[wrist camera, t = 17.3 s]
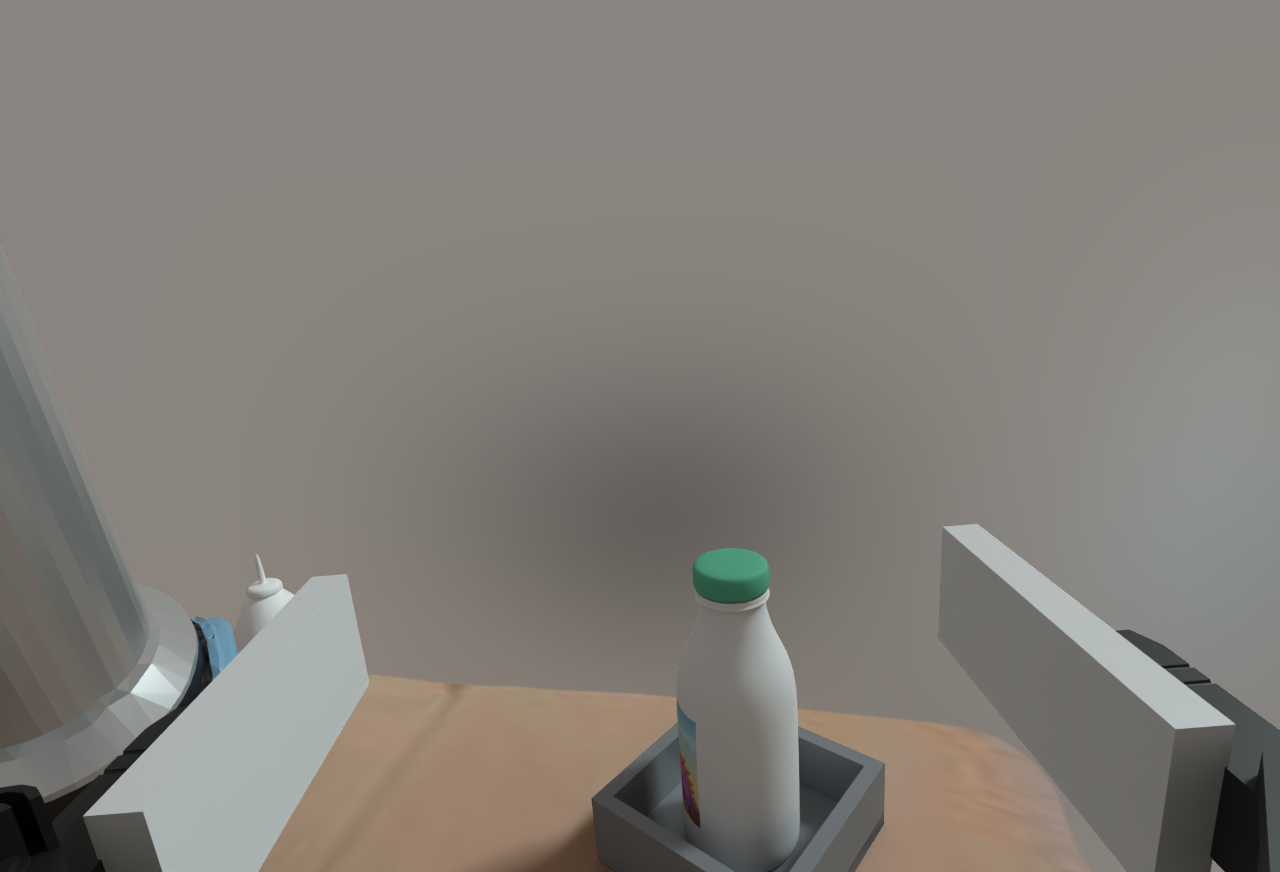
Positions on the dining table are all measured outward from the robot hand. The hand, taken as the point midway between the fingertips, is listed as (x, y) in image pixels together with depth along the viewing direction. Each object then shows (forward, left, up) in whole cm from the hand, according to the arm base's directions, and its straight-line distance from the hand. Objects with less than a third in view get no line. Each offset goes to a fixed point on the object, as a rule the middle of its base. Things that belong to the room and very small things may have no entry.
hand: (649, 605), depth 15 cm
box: (-13, +22, -32) cm, 41 cm away
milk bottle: (-13, +21, -31) cm, 40 cm away
